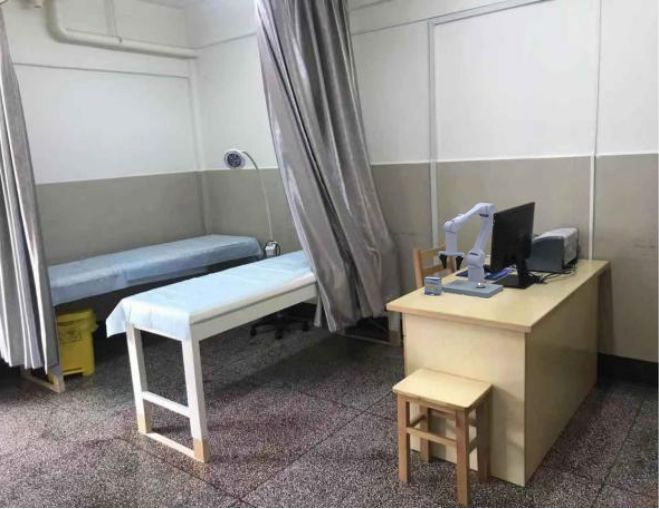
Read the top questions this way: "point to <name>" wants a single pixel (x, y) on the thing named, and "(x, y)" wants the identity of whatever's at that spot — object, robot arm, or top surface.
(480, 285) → the ball
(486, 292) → the deck
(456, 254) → the robot arm
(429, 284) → the medicine box
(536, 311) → the top surface
